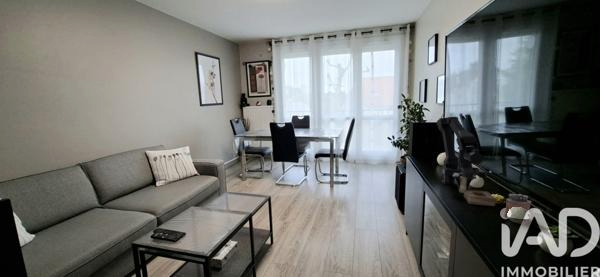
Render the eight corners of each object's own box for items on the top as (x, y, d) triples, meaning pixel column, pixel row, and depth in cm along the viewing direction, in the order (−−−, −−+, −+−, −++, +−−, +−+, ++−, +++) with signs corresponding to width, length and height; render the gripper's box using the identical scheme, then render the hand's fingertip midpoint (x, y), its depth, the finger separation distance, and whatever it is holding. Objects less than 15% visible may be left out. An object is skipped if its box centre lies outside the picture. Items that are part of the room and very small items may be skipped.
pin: (458, 190, 135) (459, 176, 133) (464, 191, 134) (465, 176, 132) (459, 192, 132) (460, 178, 131) (466, 193, 131) (467, 178, 130)
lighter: (526, 217, 105) (529, 194, 103) (530, 220, 101) (533, 197, 100) (503, 214, 107) (505, 192, 106) (506, 218, 104) (509, 195, 103)
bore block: (463, 196, 127) (464, 189, 126) (487, 198, 124) (487, 191, 123) (469, 203, 119) (469, 196, 118) (494, 206, 115) (495, 198, 115)
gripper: (447, 162, 125) (445, 192, 128) (492, 164, 120) (489, 195, 122) (443, 157, 136) (441, 185, 138) (484, 158, 130) (481, 187, 132)
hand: (462, 188), depth 132 cm, fingers closed on pin, 3 cm apart
